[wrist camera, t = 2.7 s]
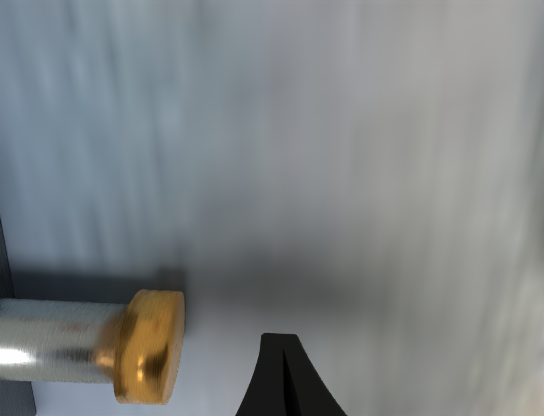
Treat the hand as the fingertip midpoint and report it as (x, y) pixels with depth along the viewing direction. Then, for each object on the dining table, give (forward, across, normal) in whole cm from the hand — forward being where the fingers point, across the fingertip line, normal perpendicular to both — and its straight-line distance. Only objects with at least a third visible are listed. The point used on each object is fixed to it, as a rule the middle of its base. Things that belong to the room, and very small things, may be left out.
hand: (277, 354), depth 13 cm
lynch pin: (+2, +10, 0) cm, 11 cm away
